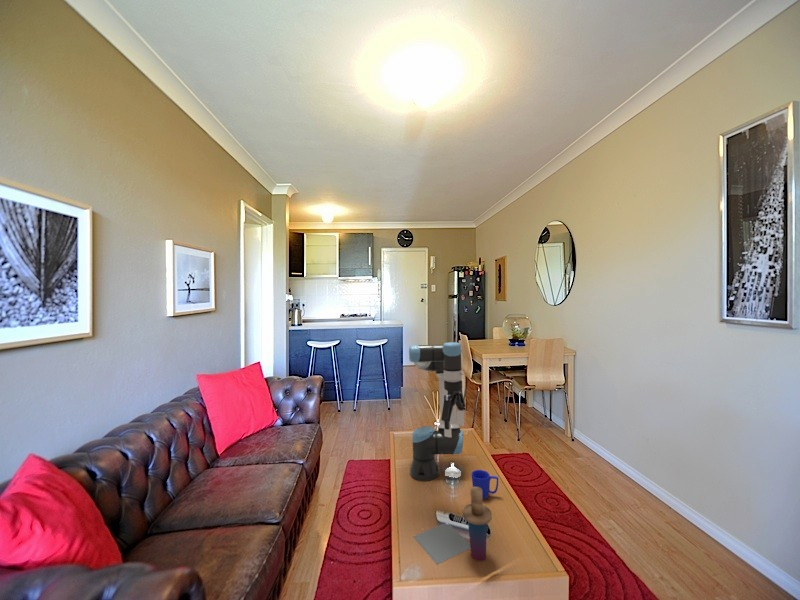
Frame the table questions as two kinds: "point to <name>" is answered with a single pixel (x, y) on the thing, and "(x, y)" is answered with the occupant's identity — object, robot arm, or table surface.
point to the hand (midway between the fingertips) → (454, 430)
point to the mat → (442, 543)
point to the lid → (477, 509)
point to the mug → (483, 482)
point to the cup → (478, 541)
